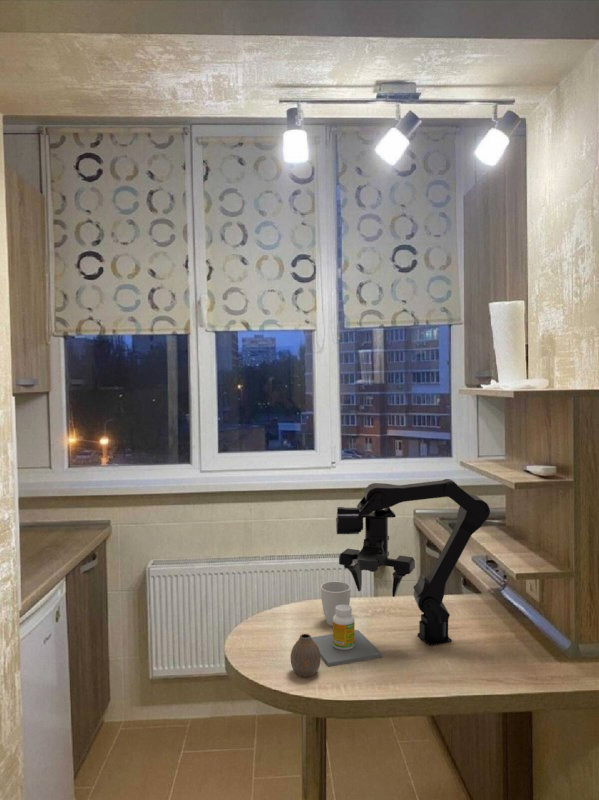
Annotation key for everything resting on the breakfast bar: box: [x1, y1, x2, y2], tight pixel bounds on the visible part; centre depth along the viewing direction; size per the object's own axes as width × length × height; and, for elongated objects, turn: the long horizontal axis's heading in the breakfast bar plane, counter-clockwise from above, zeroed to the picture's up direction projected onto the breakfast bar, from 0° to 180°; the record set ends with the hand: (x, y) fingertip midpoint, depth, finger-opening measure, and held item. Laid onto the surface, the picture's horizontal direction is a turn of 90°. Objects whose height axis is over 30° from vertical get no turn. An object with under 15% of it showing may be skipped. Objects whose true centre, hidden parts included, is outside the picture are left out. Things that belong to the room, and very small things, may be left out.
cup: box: [320, 580, 351, 627], centre depth 168 cm, size 8×8×10 cm
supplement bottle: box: [332, 604, 355, 650], centre depth 152 cm, size 5×5×10 cm
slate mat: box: [311, 629, 383, 667], centre depth 153 cm, size 14×14×1 cm
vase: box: [290, 633, 322, 678], centre depth 141 cm, size 7×7×9 cm
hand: (376, 593), depth 157 cm, fingers open, 9 cm apart
